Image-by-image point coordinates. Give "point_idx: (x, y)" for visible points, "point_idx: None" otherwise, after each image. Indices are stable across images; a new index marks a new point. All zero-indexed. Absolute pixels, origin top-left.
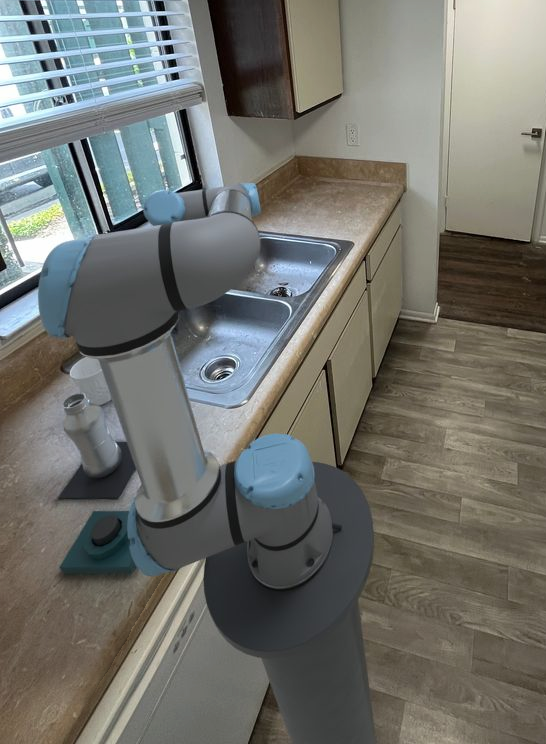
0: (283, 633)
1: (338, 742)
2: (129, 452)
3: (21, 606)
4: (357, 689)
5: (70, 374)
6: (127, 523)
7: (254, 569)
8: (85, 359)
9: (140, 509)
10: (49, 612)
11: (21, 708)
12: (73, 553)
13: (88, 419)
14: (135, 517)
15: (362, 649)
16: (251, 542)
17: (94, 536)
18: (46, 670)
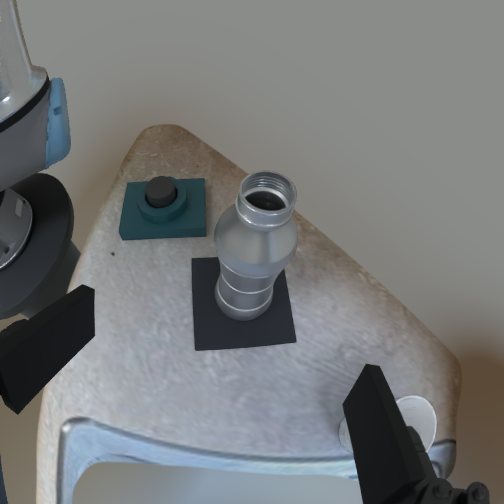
0: (18, 182)
1: None
2: (220, 327)
3: (227, 168)
4: None
5: (425, 400)
6: (61, 79)
7: (24, 199)
8: (427, 443)
9: (39, 66)
10: (196, 165)
11: (177, 130)
12: (197, 188)
13: (227, 211)
14: (52, 79)
15: None
16: (13, 196)
17: (165, 177)
18: (172, 142)
